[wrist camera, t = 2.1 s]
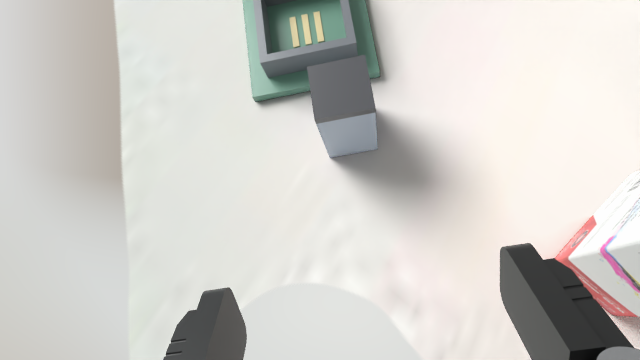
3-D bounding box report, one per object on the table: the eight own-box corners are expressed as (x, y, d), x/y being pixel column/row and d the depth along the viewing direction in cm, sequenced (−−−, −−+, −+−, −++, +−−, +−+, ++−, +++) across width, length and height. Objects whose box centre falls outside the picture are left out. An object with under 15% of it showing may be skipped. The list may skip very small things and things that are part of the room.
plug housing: (369, 105, 32) (365, 54, 25) (377, 149, 31) (375, 108, 24) (323, 114, 32) (306, 66, 26) (329, 157, 31) (314, 119, 25)
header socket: (358, -27, 35) (356, -56, 32) (379, 76, 32) (379, 55, 30) (244, -1, 36) (232, -27, 34) (255, 101, 33) (243, 83, 31)
